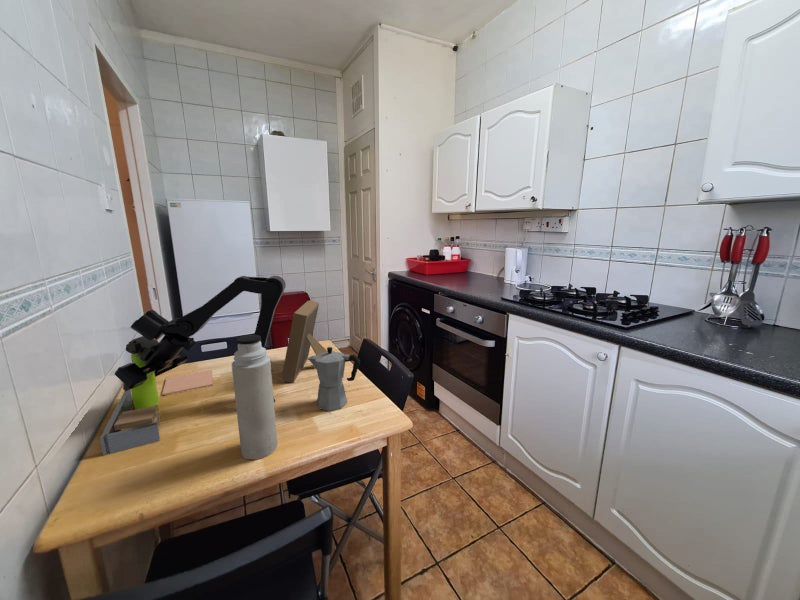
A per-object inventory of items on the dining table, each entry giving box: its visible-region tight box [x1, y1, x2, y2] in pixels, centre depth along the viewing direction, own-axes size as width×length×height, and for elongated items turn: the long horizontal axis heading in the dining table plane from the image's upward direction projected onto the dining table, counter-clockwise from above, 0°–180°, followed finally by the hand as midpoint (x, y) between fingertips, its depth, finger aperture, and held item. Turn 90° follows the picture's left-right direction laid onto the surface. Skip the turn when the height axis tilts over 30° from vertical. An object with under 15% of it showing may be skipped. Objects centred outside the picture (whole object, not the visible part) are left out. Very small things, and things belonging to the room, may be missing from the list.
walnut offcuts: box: [114, 405, 162, 431], centre depth 85 cm, size 8×8×4 cm
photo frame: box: [280, 300, 328, 384], centre depth 120 cm, size 15×22×25 cm
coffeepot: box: [307, 346, 361, 412], centre depth 96 cm, size 15×9×18 cm, turn 90°
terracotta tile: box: [161, 369, 214, 397], centre depth 112 cm, size 14×14×1 cm
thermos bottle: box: [231, 334, 278, 460], centre depth 74 cm, size 8×8×28 cm
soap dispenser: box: [130, 353, 160, 410], centre depth 94 cm, size 6×7×20 cm
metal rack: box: [99, 389, 161, 456], centre depth 88 cm, size 28×11×4 cm, turn 31°
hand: (139, 382), depth 94 cm, fingers open, 9 cm apart
